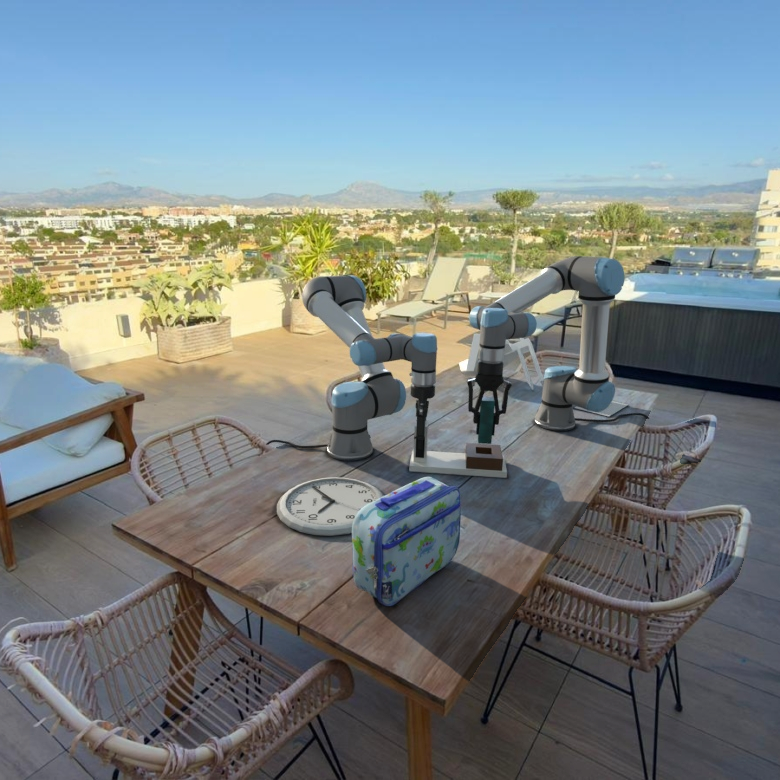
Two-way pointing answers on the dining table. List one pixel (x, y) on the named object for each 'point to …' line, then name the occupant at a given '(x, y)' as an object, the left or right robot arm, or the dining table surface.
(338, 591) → the dining table surface
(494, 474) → the peg board
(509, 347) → the white plastic object
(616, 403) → the invitation card
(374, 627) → the dining table surface
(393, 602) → the lunch box
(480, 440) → the peg
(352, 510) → the wall clock
